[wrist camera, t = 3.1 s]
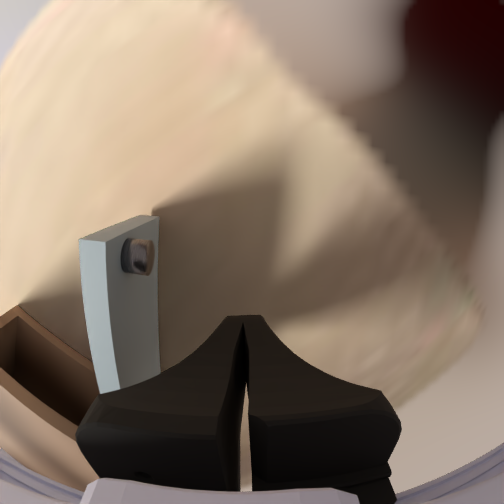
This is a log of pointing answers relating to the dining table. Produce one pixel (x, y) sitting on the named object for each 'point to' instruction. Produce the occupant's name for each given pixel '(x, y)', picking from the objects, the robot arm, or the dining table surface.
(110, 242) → the door
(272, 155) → the dining table surface
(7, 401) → the cabinet
